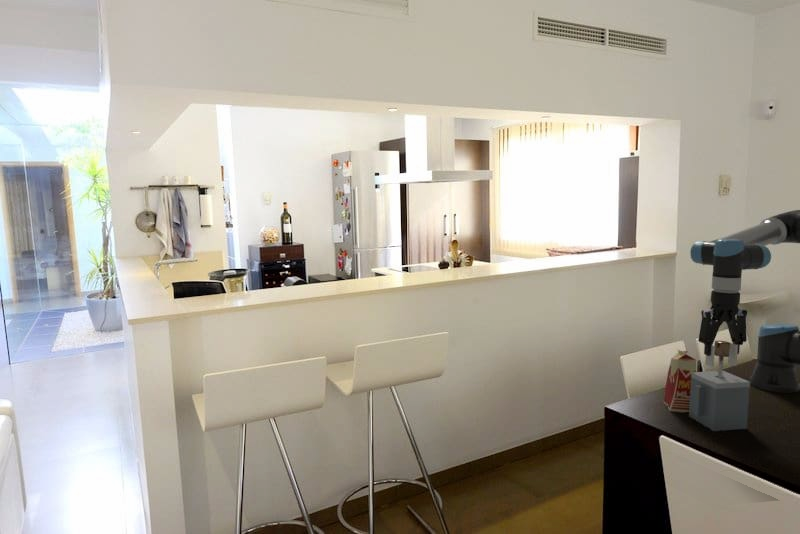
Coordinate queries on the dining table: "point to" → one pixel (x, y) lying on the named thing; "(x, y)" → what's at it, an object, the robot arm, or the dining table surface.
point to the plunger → (721, 354)
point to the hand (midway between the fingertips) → (720, 365)
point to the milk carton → (679, 382)
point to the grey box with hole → (719, 400)
